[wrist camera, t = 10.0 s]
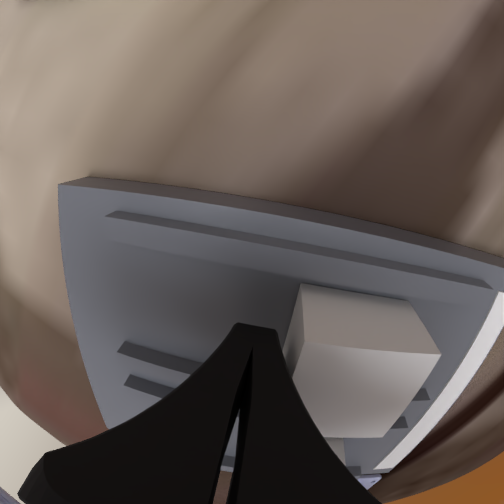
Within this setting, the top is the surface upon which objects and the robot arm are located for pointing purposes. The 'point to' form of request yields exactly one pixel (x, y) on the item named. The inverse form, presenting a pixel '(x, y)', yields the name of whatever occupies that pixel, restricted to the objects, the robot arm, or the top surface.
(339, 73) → the top surface
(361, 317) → the tab
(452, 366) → the switch board
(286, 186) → the top surface
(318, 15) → the top surface
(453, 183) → the top surface
